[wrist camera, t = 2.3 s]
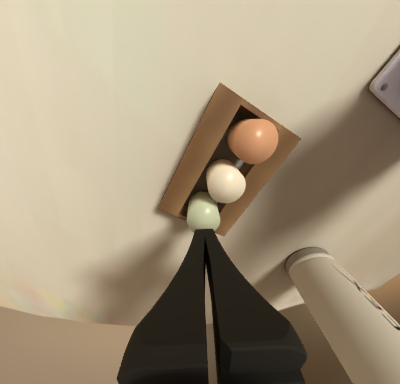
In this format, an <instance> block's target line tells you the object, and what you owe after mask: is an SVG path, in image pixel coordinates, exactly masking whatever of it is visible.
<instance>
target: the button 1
mask: <svg viewBox="0 0 400 384" xmlns="http://www.w3.org/2000/svg"><path fill="white" fill-rule="evenodd" d="M187 225H188V227H189V229H190V230H191V231H193V232H194V231H195V230H196V229H210V228H212V229H214V231H215V230H216V229H217V228H218V227H219V225H220V216H219V211H218V207H217V203H216V201H215V200H214V199H213V198H212V197H211V196H210V194H209V193H208V192H197V193H195V194H193V195H192V196H191V197H190V199H189V202H188V212H187Z"/></svg>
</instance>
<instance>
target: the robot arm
mask: <svg viewBox="0 0 400 384" xmlns="http://www.w3.org/2000/svg"><path fill="white" fill-rule="evenodd" d="M382 86H383V87H382ZM381 87H382V89H381ZM370 91H371V92H372V93H373V94H374V95H375V96H376V97H377V98H378V99H380V100H381V101H382V102H383V103H384V104H385V105H386V106H387V107H388V108H389V109H390V110H391V111H392V112H393V113H395V114H396V115H397V116H398V117H399V118H400V49H399V50H398V52H397V53H396V54H395V55H394V56H393V57H392V59H391V60H390V61H389V62H388V63H387V65H386V66H385V67H384V68H383V69H382V70H381V72H380V73H379V74H378V75H377V76H376V77H375V79H374V80H373V81H372V82H371V84H370ZM206 268H207V274H208V281H209V287H210V294H211V302H212V315H213V329H214V342H215V356H216V370H217V383H218V384H305V380H304V378H303V375H302V373H301V371H300V369H301V367H302V366H303V364H304V363H305V362H306V359H307V353H306V350H305V348H304V346H303V344H302V342H301V340H300V338H299V337H298V335H297V333H296V331H295V330H294V328H293V326H292V325H291V323H290V322H289V321H288V320H287V319H286V318H285V317H284V316H283V315H282V314H280V313H279V312H278V311H277V310H276V309H275V308H274V307H273V306H272V305H270V304H269V303H268V302H267V301H266V300H265V299H264V298H263V297H262V296H261V295H260V294H259V293H258V292H257V291H256V290H255V289H254V287H253V286H252V285H251V284H250V283H249V282H248V281H247V280H246V279H245V278H244V276H243V275H242V274H241V273H240V272H239V270H238V269H237V268H236V267H235V265H234V264H233V263H232V261H231V260H230V258H229V257H228V255H227V254H226V252H225V251H224V249H223V247H222V246H221V244H220V242H219V240H218V238H217V236H216V234H215V232H214V229H212V228H210V229H196V230H195V231H194V236H193V239H192V242H191V245H190V247H189V250H188V252H187V254H186V256H185V258H184V260H183V262H182V264H181V266H180V268H179V270H178V272H177V273H176V275H175V277H174V278H173V280H172V281H171V283H170V284H169V286H168V287H167V289H166V290H165V292H164V293H163V294H162V296H161V297H160V298H159V300H158V301H157V302H156V304H155V305H154V306H153V307H152V309H151V310H150V311H149V312H148V313H147V315H146V316H145V317H144V318H143V319H142V321H141V322H140V323H139V324H138V325H137V326H136V328H135V329H134V332H133V334H132V336H131V338H130V340H129V343H128V345H127V348H126V350H125V353H124V356H123V360H122V362H121V367H120V369H119V372H118V376H117V381H118V383H119V384H209V383H208V361H207V340H206V318H205V269H206Z"/></svg>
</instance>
